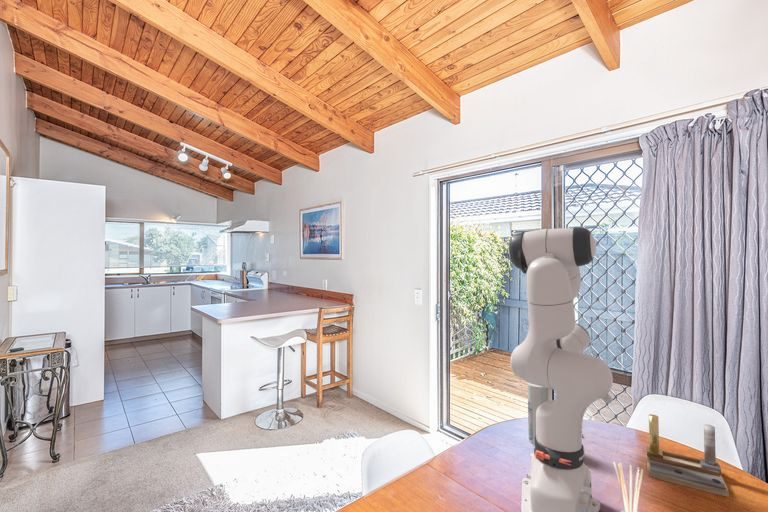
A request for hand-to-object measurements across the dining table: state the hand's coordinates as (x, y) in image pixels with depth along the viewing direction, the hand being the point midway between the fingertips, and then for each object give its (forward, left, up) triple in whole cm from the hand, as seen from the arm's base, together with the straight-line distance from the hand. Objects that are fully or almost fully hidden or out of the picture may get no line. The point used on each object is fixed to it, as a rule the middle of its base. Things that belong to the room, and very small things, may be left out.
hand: (610, 401), depth 118 cm
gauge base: (-4, -18, -16) cm, 24 cm away
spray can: (-7, +21, -16) cm, 28 cm away
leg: (0, -11, -14) cm, 18 cm away
